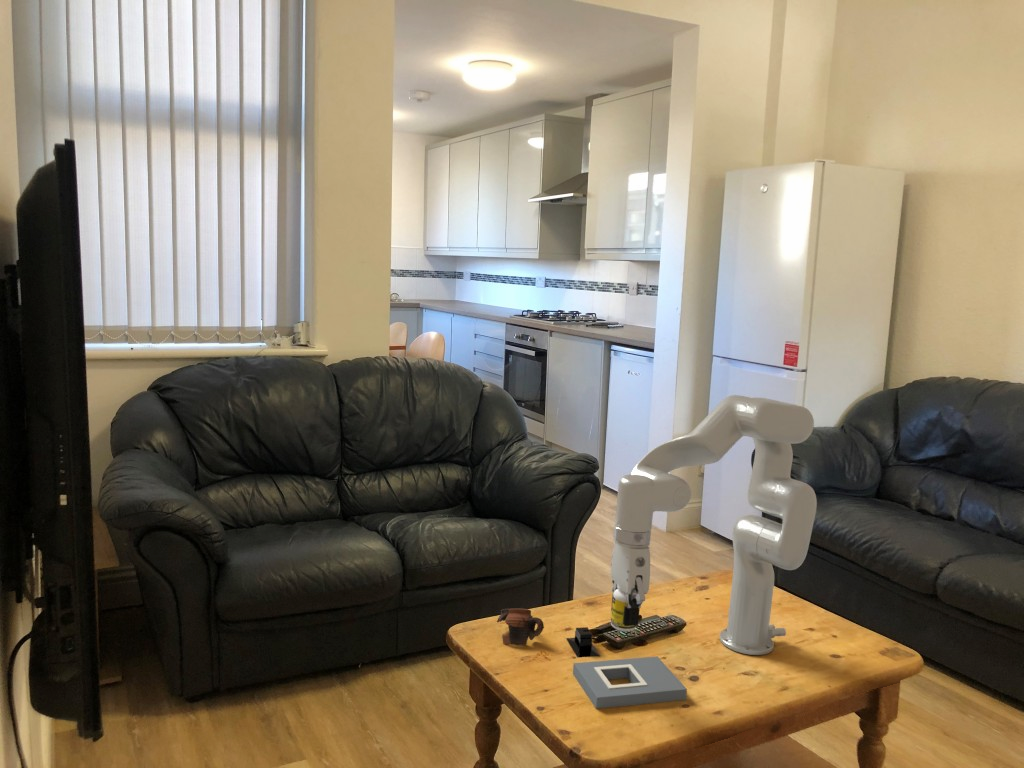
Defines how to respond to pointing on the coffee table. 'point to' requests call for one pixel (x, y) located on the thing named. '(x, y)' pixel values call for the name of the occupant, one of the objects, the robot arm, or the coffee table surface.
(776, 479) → the robot arm
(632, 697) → the board
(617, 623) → the supplement bottle
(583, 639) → the black stand
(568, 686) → the coffee table surface
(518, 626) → the pottery mug
